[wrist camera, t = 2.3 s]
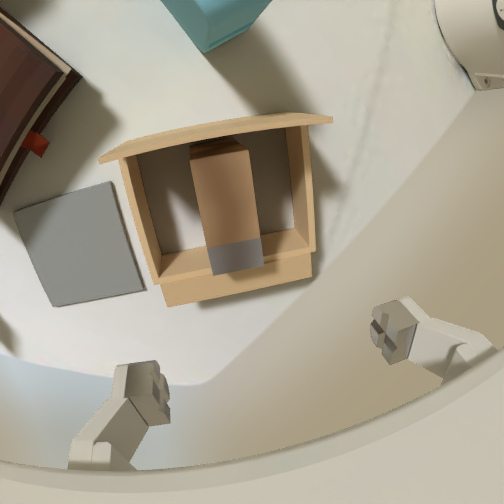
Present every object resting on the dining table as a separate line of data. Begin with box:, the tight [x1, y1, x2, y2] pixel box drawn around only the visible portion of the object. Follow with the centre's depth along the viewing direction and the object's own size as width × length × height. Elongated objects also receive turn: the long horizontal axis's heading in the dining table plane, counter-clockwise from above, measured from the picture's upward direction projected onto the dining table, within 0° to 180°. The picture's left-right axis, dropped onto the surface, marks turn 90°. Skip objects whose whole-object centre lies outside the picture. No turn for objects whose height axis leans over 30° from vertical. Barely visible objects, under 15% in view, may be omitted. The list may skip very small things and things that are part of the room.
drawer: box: [98, 112, 333, 307], centre depth 26 cm, size 15×15×10 cm
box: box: [189, 138, 264, 276], centre depth 26 cm, size 4×9×8 cm, turn 7°
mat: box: [13, 181, 144, 307], centre depth 29 cm, size 12×12×1 cm
